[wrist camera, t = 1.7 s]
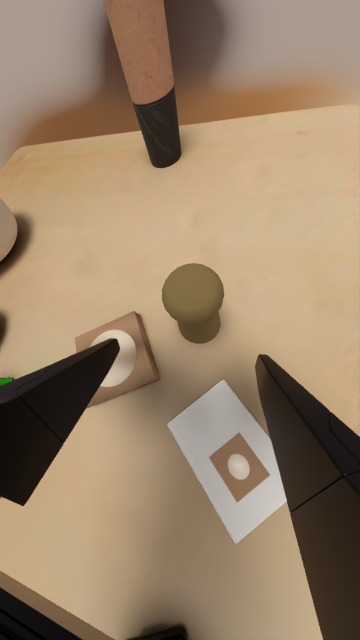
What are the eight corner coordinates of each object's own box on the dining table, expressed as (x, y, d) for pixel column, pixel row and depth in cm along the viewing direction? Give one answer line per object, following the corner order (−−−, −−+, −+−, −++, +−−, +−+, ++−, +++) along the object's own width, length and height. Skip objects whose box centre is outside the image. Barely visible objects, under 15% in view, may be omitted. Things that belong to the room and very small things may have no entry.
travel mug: (168, 172, 32) (109, -103, 13) (143, 164, 34) (64, -78, 15) (189, 149, 33) (163, -141, 14) (164, 143, 35) (112, -111, 16)
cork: (171, 316, 22) (139, 275, 12) (206, 296, 22) (204, 238, 12) (190, 351, 20) (172, 339, 10) (229, 330, 20) (250, 295, 10)
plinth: (159, 378, 20) (154, 379, 18) (96, 404, 21) (84, 409, 19) (140, 315, 23) (133, 310, 21) (85, 340, 24) (74, 337, 22)
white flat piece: (305, 483, 15) (307, 486, 14) (235, 542, 14) (235, 546, 14) (223, 378, 19) (223, 379, 18) (167, 423, 18) (166, 424, 18)
